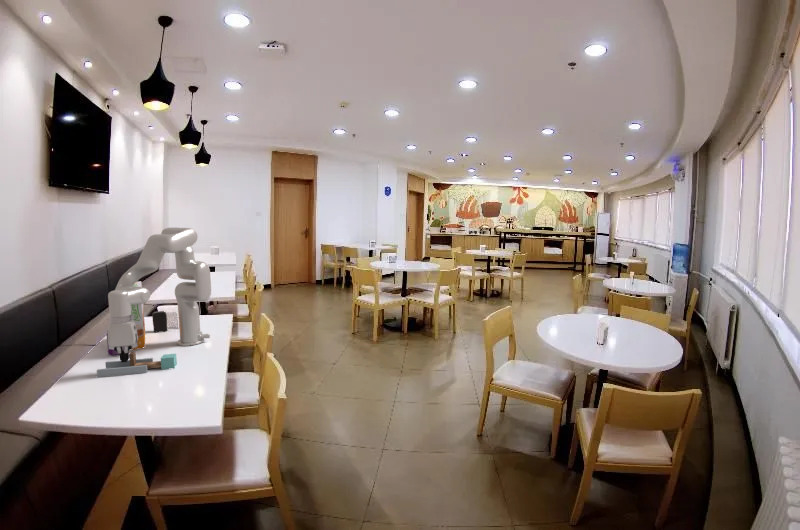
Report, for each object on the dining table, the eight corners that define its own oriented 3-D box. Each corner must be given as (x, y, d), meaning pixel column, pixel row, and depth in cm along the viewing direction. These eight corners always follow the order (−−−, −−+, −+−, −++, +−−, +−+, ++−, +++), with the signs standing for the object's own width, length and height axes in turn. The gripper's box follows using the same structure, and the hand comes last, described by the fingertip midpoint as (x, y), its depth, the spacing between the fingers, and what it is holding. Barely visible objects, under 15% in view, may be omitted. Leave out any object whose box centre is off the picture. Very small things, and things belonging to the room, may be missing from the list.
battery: (167, 329, 240) (166, 309, 239) (167, 331, 237) (166, 311, 235) (153, 331, 237) (152, 311, 235) (153, 332, 233) (151, 312, 232)
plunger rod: (163, 364, 185) (162, 349, 184) (162, 367, 182) (160, 351, 181) (132, 367, 182) (131, 352, 181) (130, 370, 179) (129, 354, 178)
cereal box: (144, 347, 209) (140, 288, 205) (129, 349, 206) (124, 289, 202) (145, 335, 228) (141, 281, 224) (131, 337, 225) (127, 282, 221)
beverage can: (117, 357, 196) (115, 332, 194) (104, 356, 197) (102, 331, 195) (129, 352, 203) (127, 328, 201) (117, 351, 204) (115, 327, 202)
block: (176, 364, 188) (176, 353, 187) (174, 368, 183) (173, 357, 182) (164, 365, 186) (163, 354, 186) (161, 369, 181) (160, 358, 181)
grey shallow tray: (153, 364, 187) (152, 357, 187) (146, 372, 178) (146, 365, 177) (106, 368, 182) (106, 361, 182) (97, 377, 173) (96, 370, 172)
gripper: (143, 316, 182) (147, 356, 185) (104, 318, 178) (107, 359, 181) (138, 320, 175) (141, 362, 178) (96, 323, 171) (100, 366, 174)
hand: (124, 361), depth 179 cm, fingers closed
